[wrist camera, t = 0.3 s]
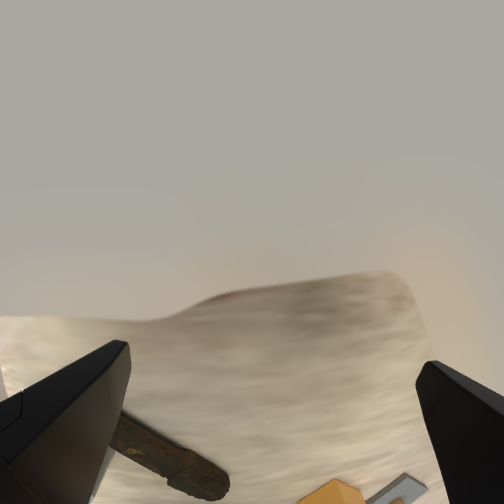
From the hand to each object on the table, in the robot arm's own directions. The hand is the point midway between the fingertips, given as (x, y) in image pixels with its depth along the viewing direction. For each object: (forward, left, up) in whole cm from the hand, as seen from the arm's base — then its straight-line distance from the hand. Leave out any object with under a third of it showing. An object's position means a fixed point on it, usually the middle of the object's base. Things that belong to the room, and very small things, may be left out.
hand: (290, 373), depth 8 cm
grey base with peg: (-9, -36, -15) cm, 40 cm away
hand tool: (-18, -4, -16) cm, 24 cm away
